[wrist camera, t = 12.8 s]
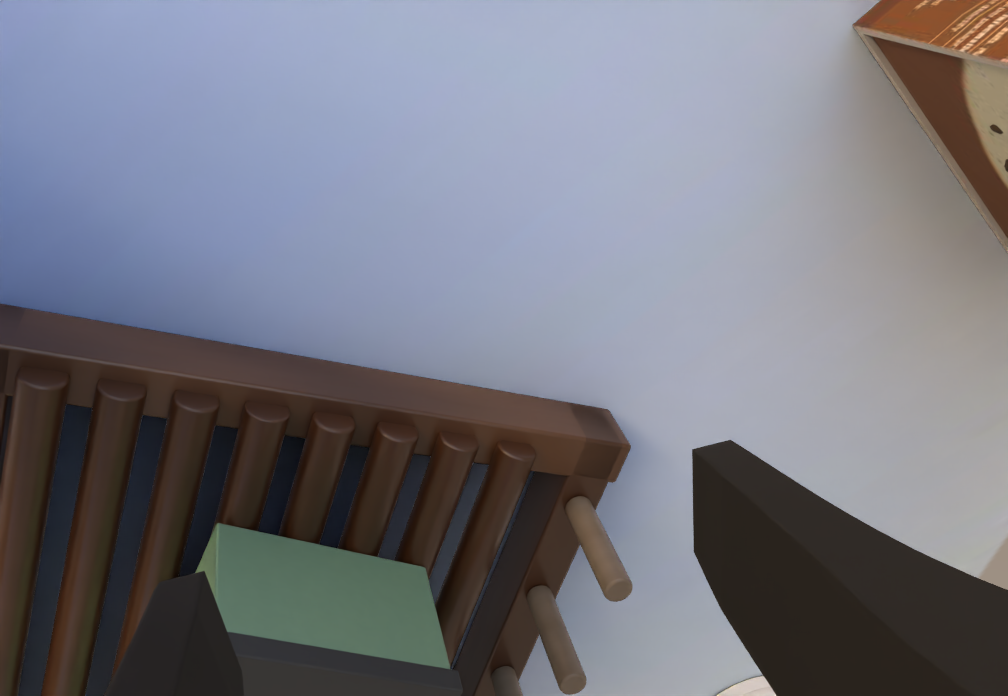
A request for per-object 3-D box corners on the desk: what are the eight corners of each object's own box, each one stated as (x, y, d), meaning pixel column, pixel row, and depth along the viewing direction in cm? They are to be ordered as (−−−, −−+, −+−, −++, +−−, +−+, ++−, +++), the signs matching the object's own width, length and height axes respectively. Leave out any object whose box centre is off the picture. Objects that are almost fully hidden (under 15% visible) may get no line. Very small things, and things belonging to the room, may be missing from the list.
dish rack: (-80, 804, 27) (-139, 993, 22) (-21, 297, 20) (-87, 428, 16) (435, 807, 32) (466, 959, 28) (609, 408, 26) (683, 526, 22)
